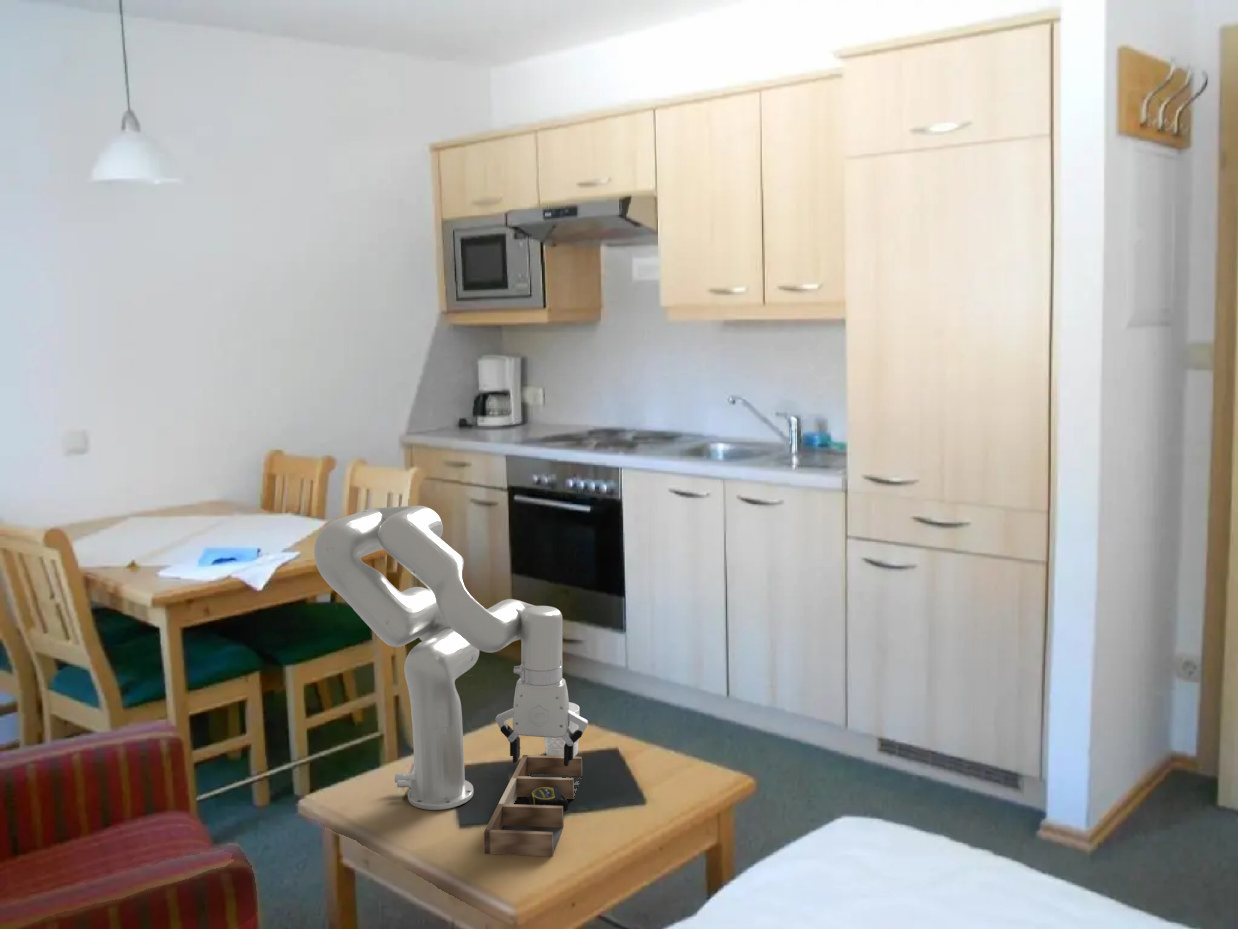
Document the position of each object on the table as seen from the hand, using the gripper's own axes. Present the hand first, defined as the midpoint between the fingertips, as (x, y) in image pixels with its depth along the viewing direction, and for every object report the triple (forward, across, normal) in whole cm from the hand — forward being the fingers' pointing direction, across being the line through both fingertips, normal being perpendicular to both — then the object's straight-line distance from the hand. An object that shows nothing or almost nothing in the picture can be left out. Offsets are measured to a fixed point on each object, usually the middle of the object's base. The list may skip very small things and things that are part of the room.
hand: (541, 761), depth 212 cm
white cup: (+10, -1, +27) cm, 29 cm away
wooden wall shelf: (+10, -1, 0) cm, 10 cm away
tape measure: (+10, +2, +1) cm, 10 cm away
